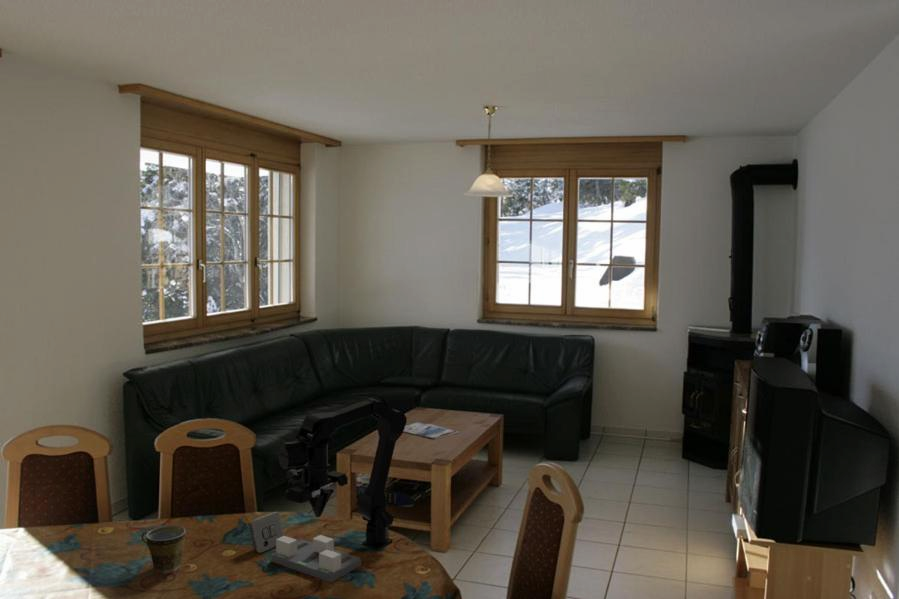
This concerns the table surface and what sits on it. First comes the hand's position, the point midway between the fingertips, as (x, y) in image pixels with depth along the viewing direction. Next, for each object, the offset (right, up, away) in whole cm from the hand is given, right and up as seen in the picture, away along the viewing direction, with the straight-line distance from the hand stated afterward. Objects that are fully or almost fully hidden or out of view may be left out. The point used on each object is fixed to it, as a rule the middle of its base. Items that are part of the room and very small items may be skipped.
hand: (318, 516), depth 208 cm
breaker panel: (-1, -13, 0) cm, 13 cm away
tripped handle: (+1, -10, +3) cm, 11 cm away
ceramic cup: (-42, -13, -2) cm, 44 cm away
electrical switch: (-17, -12, +11) cm, 24 cm away
